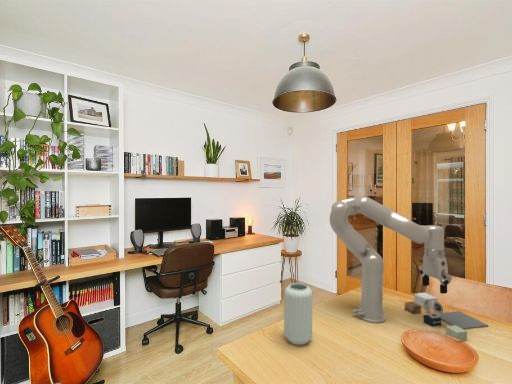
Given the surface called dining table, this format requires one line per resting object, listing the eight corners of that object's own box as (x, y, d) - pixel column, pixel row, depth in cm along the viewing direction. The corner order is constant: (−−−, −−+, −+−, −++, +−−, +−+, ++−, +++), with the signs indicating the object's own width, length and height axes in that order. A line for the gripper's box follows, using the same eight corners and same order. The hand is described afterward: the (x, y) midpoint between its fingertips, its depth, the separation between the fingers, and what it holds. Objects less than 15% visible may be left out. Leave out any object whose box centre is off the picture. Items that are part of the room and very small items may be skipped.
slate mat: (459, 329, 119) (459, 328, 119) (432, 315, 133) (432, 313, 133) (488, 326, 122) (488, 325, 122) (459, 312, 136) (459, 311, 136)
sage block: (456, 342, 110) (456, 332, 110) (445, 335, 115) (445, 326, 115) (466, 340, 111) (466, 331, 111) (455, 334, 116) (455, 325, 116)
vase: (295, 329, 120) (295, 279, 119) (317, 339, 111) (318, 286, 111) (278, 339, 112) (278, 286, 111) (301, 351, 103) (301, 294, 103)
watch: (435, 328, 120) (435, 304, 120) (420, 320, 128) (420, 297, 128) (445, 327, 122) (445, 303, 121) (429, 318, 129) (430, 296, 129)
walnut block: (412, 314, 134) (412, 306, 134) (404, 309, 139) (405, 302, 139) (420, 313, 135) (421, 305, 135) (413, 309, 140) (413, 301, 140)
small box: (437, 307, 142) (438, 297, 142) (425, 309, 140) (426, 299, 140) (425, 301, 150) (425, 292, 150) (413, 302, 148) (413, 293, 148)
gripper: (458, 256, 116) (458, 295, 117) (425, 247, 133) (426, 282, 134) (443, 257, 115) (443, 297, 115) (412, 248, 132) (413, 283, 132)
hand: (434, 289), depth 124 cm, fingers open, 9 cm apart
